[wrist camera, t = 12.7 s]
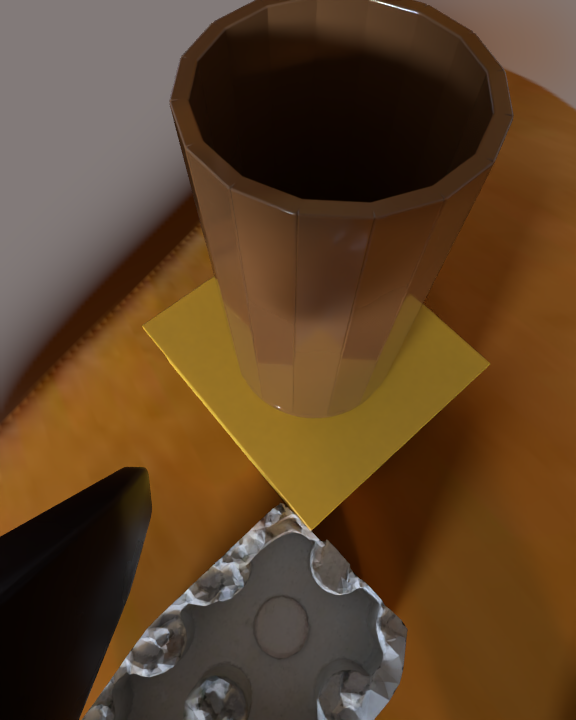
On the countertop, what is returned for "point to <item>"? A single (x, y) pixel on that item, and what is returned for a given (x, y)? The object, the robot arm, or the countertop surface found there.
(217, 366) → the yellow block
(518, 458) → the countertop surface
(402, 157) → the brown faceted cup
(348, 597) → the grey knobbed block
